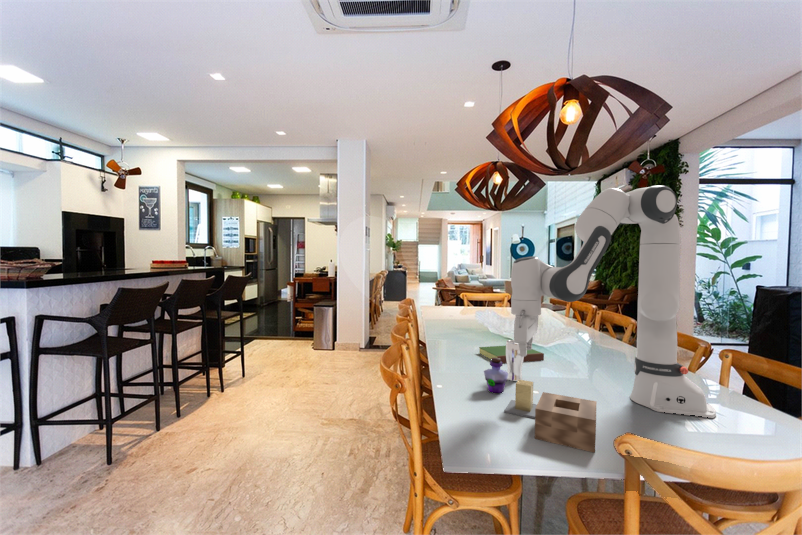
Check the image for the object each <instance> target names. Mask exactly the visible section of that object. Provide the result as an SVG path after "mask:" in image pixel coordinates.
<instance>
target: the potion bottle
mask: <svg viewBox="0 0 802 535" xmlns="http://www.w3.org/2000/svg"><path fill="white" fill-rule="evenodd" d="M503 364H504V363H503V362H501V359H500V358H492V360H491V359H490V361H489V366H491V368H487V369H485V370H483V373H484V374H483V375H484V379H485V381H486V384H487V385H486V386H487V391H488V390H489V391H490V392H493V393H502V392H504V390H505V387H506V383H507V381H508V380H507V378H508V373H507V371H506V370H503V369H501V367H503ZM489 391H488V392H489ZM490 392H489V393H490ZM493 393H492V394H493ZM502 394H503V393H502Z"/></svg>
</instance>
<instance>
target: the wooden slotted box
mask: <svg viewBox="0 0 802 535" xmlns="http://www.w3.org/2000/svg"><path fill="white" fill-rule="evenodd" d="M597 402H598V401H596V400H591V399H585V398H580V397H574V396H567V395H564V394H563V395H562V394H557V393H550V392H545V391H543V392H542V393H541V395H540V398H539V400H538V402H537V403H536V404H537V406H536V408H535V419H534V423H535V424H534V439H535V440H539V441H543V442H547V443H552V444H556V445H561V446H565V447H569V448H573V449H578V450H580V451H581V450H582V451H587V452H591V453H596V436H597Z"/></svg>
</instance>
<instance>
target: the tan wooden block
mask: <svg viewBox="0 0 802 535" xmlns="http://www.w3.org/2000/svg"><path fill="white" fill-rule="evenodd" d="M514 398H515V399H514V400H515V409H518V410H523V411H528V412H531V410H532V408H533V404H534V381H530V380H525V379H524V380H523V379H522V380H518V381H517V382H515V397H514Z"/></svg>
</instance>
